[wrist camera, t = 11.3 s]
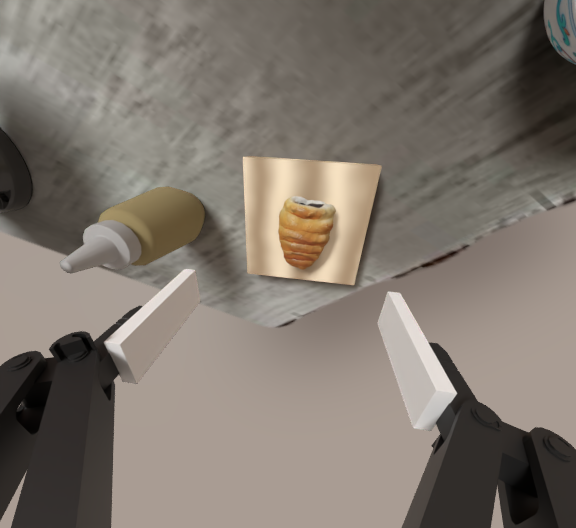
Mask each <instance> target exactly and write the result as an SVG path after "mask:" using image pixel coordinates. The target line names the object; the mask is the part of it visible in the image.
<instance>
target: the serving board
mask: <svg viewBox="0 0 576 528" xmlns="http://www.w3.org/2000/svg"><path fill="white" fill-rule="evenodd" d="M381 167H382V166H380V165H376V164H361V163H346V162H330V161H315V160H300V159H284V158H269V157H254V156H248V157H243V172H244V197H245V223H246V248H247V273H249V274H258V275H267V276H276V277H285V278H294V279H303V280H312V281H321V282H329V283H338V284H347V285H354V283H355V278H356V274H357V270H358V266H359V261H360V257H361V253H362V248H363V244H364V240H365V236H366V231H367V227H368V223H369V219H370V214H371V210H372V206H373V201H374V197H375V193H376V189H377V184H378V180H379V176H380V171H381ZM293 196H297V197H303V198H305V199H306V200H314V201H317V200H318V201H322V202H325V203H326V204H331V205H333V206H334V207H335V209H336V212H335V214H334V218H333V228H332V230H331V231H330V235H329V236H330V239H329V241H328V243H327V244H326V245H325V246H324V249H323V251H322V253H321V255H320V256H319V258H318V259H317V260H316V261H315V262H314V264H313V265H312V266H310V267H308V268H306V269H304V270H301V269H299V268H297V267H294V266H291V265H290V264H288V263H287V262H286V260H285V259H284V254H283V250H282V248H281V243H280V241H279V234H278V229H279V214H280V211H281V210H282V208H283V206H284V202H285V201H286V200H287V199H288V198H290V197H293Z"/></svg>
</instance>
